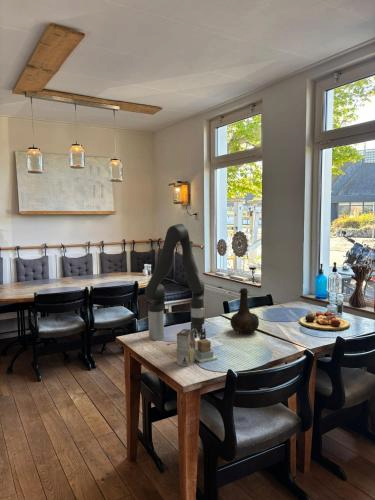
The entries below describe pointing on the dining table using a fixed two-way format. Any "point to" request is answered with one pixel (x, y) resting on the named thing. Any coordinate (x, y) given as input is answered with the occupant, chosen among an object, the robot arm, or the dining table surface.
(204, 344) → the walnut brick
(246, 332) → the glass bottle
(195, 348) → the cream brick
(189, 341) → the coffee box
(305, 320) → the wooden plate with food
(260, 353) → the dining table surface
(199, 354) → the tower base
